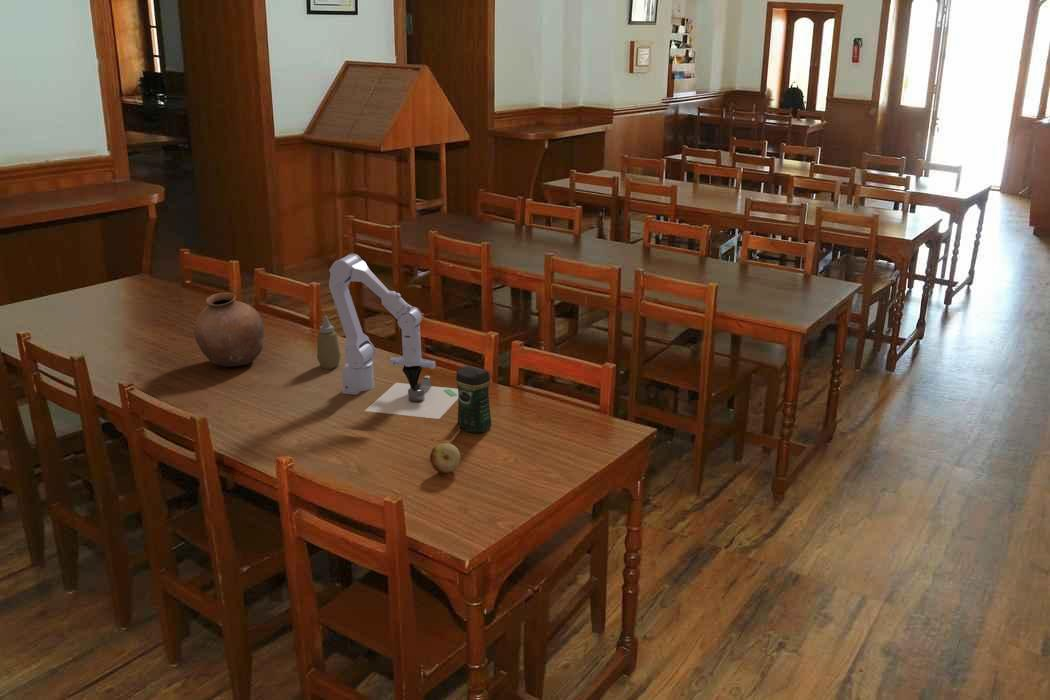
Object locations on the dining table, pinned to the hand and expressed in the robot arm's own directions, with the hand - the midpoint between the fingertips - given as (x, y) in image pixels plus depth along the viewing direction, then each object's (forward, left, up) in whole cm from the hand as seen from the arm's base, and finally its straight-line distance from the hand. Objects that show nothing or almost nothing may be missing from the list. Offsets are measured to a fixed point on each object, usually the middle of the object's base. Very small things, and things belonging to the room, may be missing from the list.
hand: (413, 387), depth 300 cm
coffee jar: (+26, -18, -3) cm, 32 cm away
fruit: (+28, -47, -3) cm, 55 cm away
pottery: (-73, +12, -3) cm, 74 cm away
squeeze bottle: (-39, +18, -3) cm, 43 cm away
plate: (+3, -6, -3) cm, 7 cm away
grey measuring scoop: (+3, -2, -1) cm, 4 cm away
